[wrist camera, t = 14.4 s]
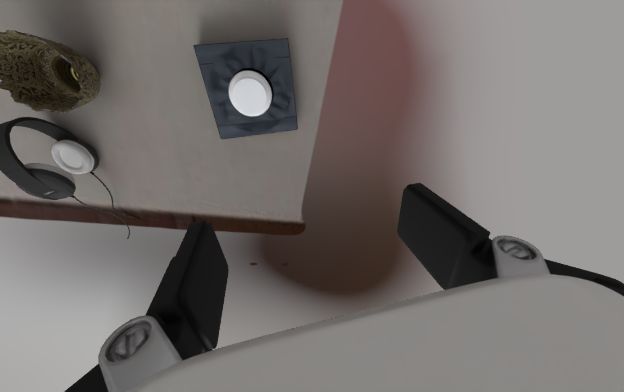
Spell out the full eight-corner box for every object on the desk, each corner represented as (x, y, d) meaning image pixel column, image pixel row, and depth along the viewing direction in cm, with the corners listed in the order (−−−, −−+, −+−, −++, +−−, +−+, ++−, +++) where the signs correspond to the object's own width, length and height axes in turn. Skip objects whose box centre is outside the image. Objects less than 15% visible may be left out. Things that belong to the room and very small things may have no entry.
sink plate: (198, 47, 30) (193, 45, 27) (285, 40, 32) (287, 38, 29) (223, 134, 36) (221, 139, 34) (295, 125, 38) (297, 129, 35)
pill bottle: (274, 103, 35) (279, 113, 27) (242, 113, 35) (237, 126, 27) (262, 65, 33) (263, 64, 24) (227, 76, 32) (216, 78, 24)
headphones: (136, 212, 42) (17, 114, 29) (157, 204, 43) (49, 102, 29) (116, 254, 35) (-57, 149, 21) (142, 244, 35) (-13, 134, 22)
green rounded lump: (55, 95, 30) (-6, 103, 23) (41, 30, 26) (-35, 17, 20) (122, 110, 32) (85, 121, 25) (116, 52, 29) (72, 46, 22)
